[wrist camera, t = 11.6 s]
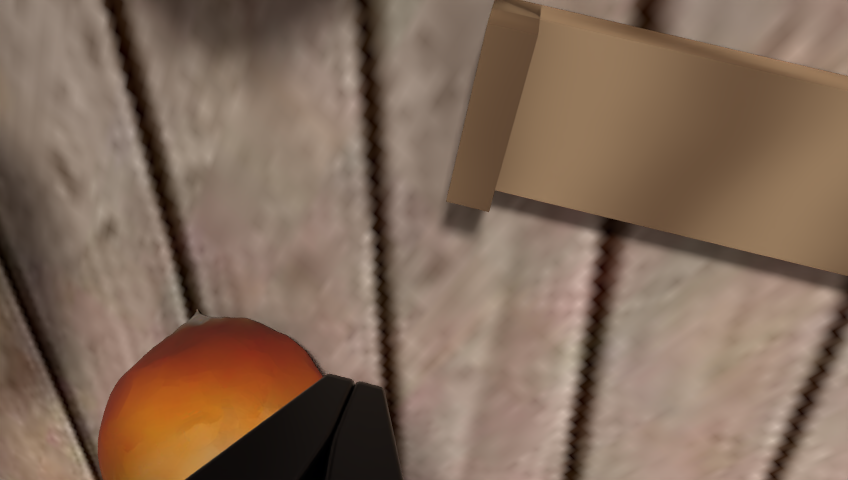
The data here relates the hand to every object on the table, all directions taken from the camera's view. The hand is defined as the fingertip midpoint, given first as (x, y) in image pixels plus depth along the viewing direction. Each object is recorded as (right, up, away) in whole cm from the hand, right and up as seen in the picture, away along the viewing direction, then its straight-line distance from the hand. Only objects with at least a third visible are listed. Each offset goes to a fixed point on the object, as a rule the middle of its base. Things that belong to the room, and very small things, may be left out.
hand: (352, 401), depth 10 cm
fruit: (-6, -3, +18) cm, 19 cm away
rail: (+14, +4, +9) cm, 17 cm away
